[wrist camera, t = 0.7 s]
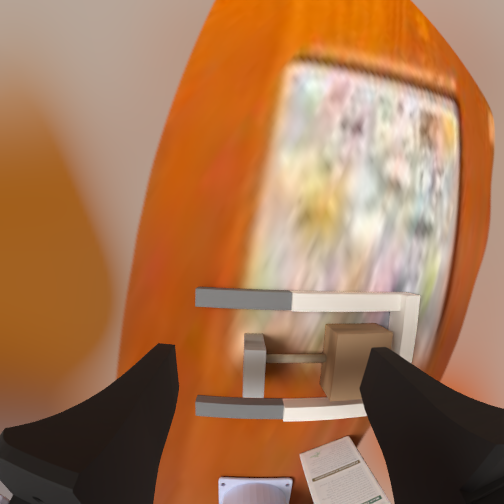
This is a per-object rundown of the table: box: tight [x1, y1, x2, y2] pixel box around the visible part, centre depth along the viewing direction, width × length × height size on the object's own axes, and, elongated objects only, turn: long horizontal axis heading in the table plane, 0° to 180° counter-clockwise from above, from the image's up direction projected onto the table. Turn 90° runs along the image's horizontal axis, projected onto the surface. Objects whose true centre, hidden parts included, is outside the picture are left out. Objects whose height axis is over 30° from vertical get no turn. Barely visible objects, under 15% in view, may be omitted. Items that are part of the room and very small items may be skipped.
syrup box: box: [300, 436, 391, 504], centre depth 20 cm, size 6×6×14 cm
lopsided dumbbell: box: [243, 323, 393, 402], centre depth 25 cm, size 6×12×5 cm, turn 87°
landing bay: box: [195, 287, 292, 419], centre depth 26 cm, size 12×8×2 cm, turn 178°
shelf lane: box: [282, 291, 420, 421], centre depth 26 cm, size 12×12×3 cm
